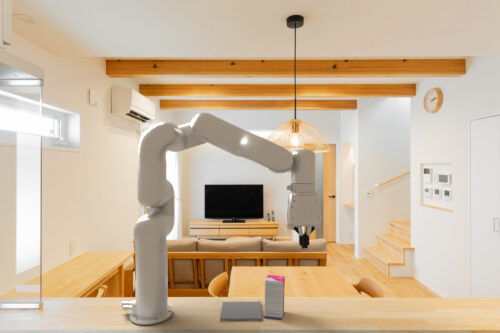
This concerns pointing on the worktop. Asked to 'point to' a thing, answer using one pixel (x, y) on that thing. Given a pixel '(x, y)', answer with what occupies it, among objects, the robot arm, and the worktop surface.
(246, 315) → the felt pad
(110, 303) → the worktop surface
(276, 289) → the supplement box
